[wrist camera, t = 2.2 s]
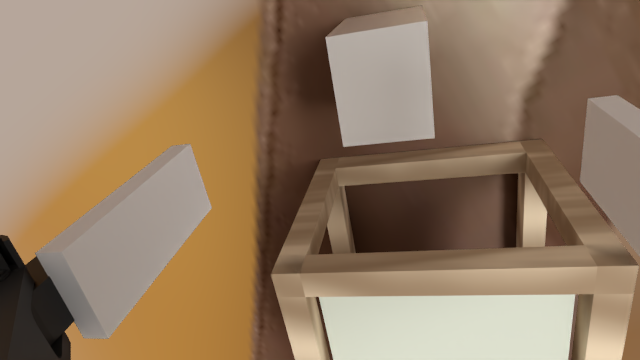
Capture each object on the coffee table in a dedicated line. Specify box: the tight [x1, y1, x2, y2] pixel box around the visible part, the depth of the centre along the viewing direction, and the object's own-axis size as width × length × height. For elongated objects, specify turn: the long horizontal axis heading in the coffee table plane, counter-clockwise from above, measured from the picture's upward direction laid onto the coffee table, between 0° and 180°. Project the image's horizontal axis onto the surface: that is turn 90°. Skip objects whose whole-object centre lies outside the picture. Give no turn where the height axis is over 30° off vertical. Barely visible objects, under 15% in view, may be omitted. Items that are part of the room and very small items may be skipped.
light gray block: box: [325, 6, 435, 147], centre depth 25 cm, size 6×5×8 cm
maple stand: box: [271, 139, 639, 360], centre depth 29 cm, size 16×16×14 cm
